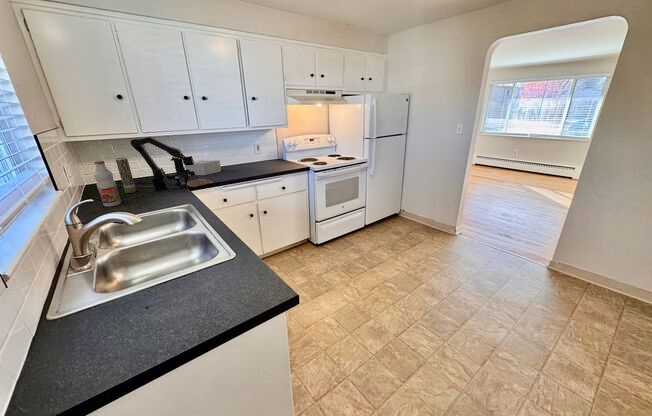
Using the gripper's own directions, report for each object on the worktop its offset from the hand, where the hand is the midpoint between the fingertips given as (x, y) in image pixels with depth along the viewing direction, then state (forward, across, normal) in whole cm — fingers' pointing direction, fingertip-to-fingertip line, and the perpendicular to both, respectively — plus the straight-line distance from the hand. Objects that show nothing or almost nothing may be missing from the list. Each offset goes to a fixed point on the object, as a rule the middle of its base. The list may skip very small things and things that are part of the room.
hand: (183, 185), depth 207 cm
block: (+1, +31, +33) cm, 45 cm away
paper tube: (+1, -31, +17) cm, 35 cm away
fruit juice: (+1, -46, -5) cm, 46 cm away
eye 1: (+1, 0, +9) cm, 9 cm away
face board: (+1, +13, +4) cm, 14 cm away
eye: (+1, 0, 0) cm, 1 cm away
